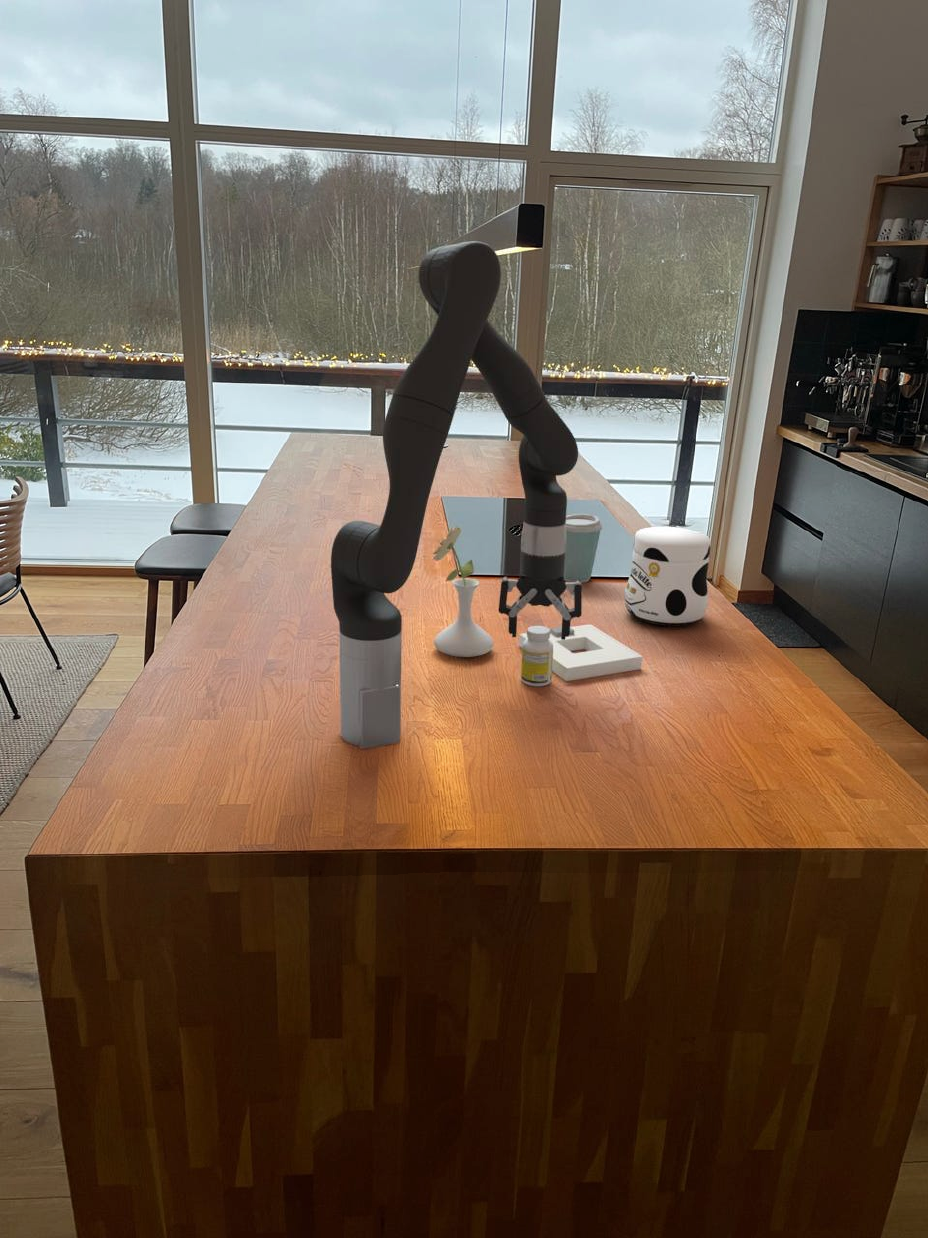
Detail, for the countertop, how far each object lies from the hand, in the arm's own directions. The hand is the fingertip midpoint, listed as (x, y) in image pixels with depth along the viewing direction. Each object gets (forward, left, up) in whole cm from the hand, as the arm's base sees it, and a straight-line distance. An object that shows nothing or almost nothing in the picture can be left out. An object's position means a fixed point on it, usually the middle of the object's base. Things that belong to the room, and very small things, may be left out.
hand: (538, 637), depth 165 cm
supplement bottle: (0, 0, -8) cm, 8 cm away
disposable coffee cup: (+50, -38, -8) cm, 63 cm away
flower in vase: (+17, +7, -8) cm, 20 cm away
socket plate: (+7, -13, -8) cm, 17 cm away
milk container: (+20, -42, -8) cm, 47 cm away
